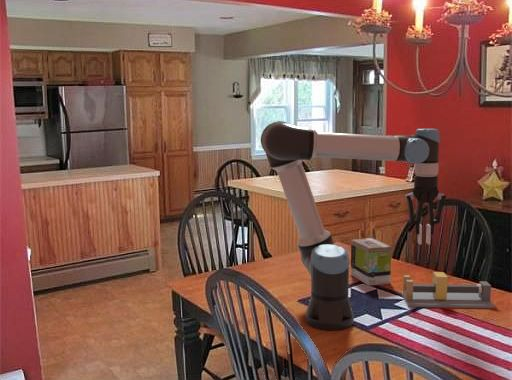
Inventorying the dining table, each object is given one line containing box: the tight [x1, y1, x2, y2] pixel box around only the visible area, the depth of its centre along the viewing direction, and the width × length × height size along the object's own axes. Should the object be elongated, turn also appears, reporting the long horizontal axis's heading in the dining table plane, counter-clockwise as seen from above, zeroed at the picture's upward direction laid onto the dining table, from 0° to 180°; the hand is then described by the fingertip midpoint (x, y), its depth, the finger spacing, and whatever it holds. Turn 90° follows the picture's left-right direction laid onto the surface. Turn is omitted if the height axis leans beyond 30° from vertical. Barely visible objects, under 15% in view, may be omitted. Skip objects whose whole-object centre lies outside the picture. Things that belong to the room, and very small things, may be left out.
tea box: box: [350, 237, 392, 286], centre depth 208 cm, size 15×10×15 cm, turn 17°
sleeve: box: [432, 271, 449, 300], centre depth 184 cm, size 5×4×8 cm
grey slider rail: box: [401, 274, 495, 309], centre depth 184 cm, size 12×28×8 cm, turn 85°
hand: (423, 243), depth 182 cm, fingers open, 2 cm apart
